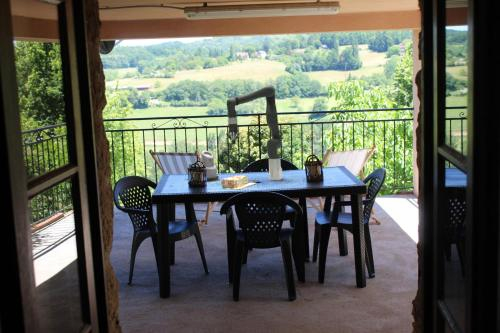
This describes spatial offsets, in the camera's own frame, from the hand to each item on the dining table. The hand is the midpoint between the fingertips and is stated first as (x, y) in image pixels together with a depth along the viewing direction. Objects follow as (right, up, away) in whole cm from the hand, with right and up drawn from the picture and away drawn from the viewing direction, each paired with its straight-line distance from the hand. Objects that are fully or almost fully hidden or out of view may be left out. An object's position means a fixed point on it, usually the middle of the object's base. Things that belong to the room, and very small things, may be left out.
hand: (233, 144), depth 555 cm
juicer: (-25, -29, +14) cm, 41 cm away
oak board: (+6, -33, -25) cm, 42 cm away
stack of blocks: (-3, -29, -21) cm, 36 cm away
